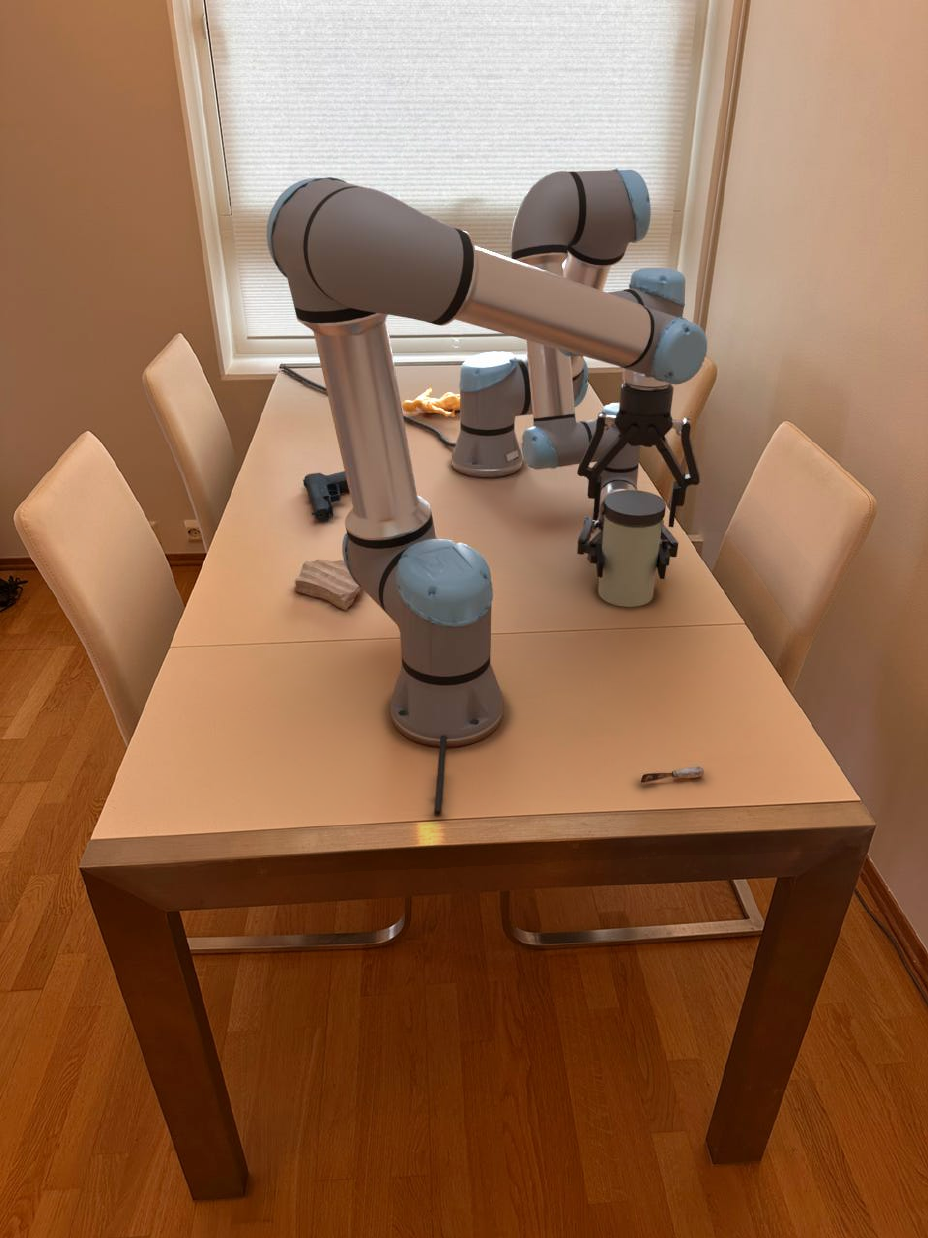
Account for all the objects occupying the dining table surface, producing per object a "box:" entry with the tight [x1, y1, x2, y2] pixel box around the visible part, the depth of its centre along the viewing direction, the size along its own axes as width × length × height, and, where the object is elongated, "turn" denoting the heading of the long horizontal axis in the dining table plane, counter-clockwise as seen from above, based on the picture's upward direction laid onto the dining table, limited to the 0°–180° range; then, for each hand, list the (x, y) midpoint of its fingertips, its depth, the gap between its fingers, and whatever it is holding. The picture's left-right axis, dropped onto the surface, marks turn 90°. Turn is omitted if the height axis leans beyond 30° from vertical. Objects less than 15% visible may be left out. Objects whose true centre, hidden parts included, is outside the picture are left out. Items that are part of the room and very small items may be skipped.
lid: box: [603, 489, 667, 526], centre depth 140 cm, size 10×10×2 cm
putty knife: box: [640, 765, 705, 784], centre depth 109 cm, size 1×8×2 cm, turn 103°
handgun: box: [302, 470, 350, 523], centre depth 178 cm, size 3×18×12 cm
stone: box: [294, 559, 363, 611], centre depth 149 cm, size 13×12×3 cm
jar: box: [597, 515, 664, 608], centre depth 144 cm, size 9×9×16 cm
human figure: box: [401, 385, 460, 418], centre depth 225 cm, size 20×20×4 cm
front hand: (633, 520), depth 141 cm, fingers open, 11 cm apart
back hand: (631, 570), depth 141 cm, fingers closed on jar, 9 cm apart
